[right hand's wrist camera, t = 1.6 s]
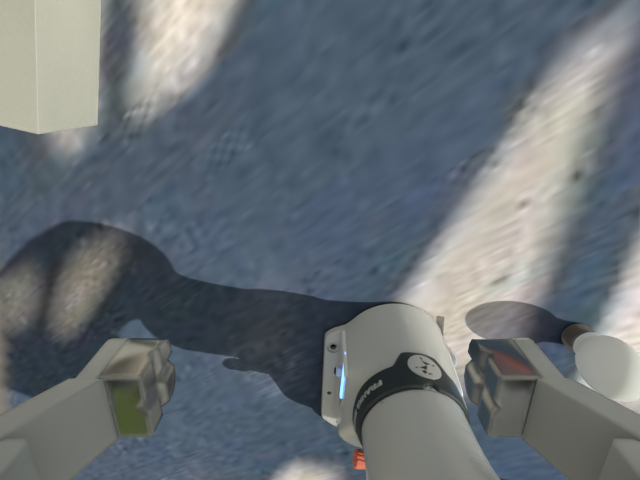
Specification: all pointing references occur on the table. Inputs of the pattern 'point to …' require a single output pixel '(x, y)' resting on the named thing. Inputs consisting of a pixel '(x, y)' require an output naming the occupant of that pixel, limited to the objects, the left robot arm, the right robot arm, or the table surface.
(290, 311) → the table surface
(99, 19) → the box
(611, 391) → the light bulb
